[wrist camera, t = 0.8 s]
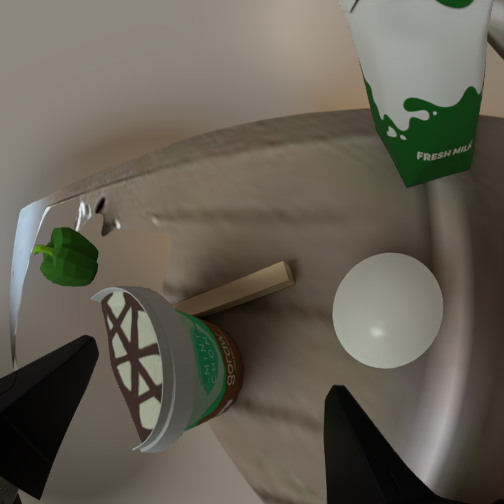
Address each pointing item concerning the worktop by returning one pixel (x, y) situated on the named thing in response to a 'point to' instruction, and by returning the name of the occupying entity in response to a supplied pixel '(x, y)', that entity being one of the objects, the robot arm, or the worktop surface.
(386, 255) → the white domed puck
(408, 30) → the milk carton
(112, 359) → the food container
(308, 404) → the worktop surface
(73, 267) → the bell pepper
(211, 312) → the oak strip
